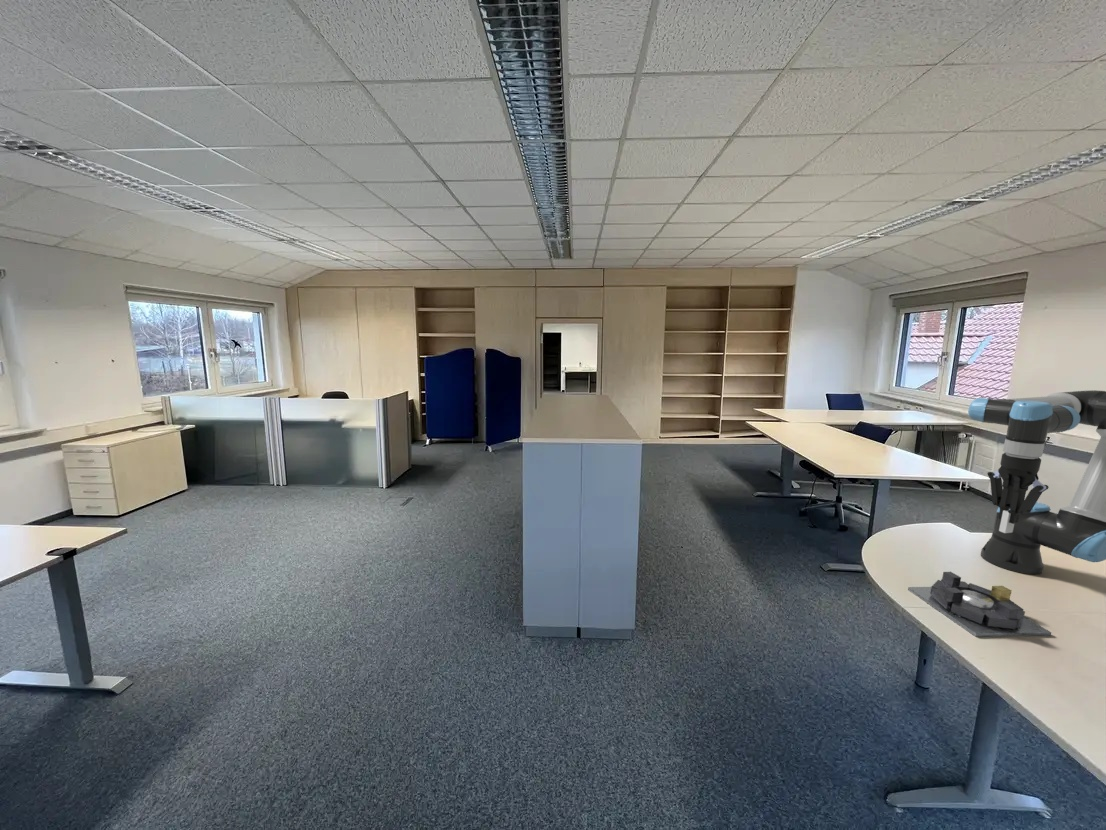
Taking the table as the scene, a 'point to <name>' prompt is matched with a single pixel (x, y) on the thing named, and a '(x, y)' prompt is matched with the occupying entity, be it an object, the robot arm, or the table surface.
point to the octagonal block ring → (952, 597)
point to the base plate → (974, 627)
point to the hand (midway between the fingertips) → (1005, 531)
